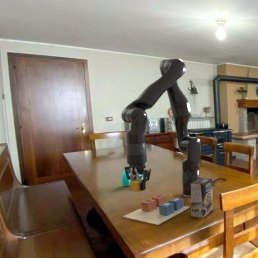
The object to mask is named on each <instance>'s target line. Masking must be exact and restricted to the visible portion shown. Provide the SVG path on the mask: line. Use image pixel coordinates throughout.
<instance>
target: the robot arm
mask: <svg viewBox="0 0 258 258" xmlns="http://www.w3.org/2000/svg"><path fill="white" fill-rule="evenodd" d="M159 71H160V75H161V76H160V77H159V78H158V79H156V80H155V81H154V82H152V83H151V84H148V86H147V87H145V88H144V90H143V91H142V92H141V93H140V94H139V96H138V97H137V98H136V99H134V100H133V101H131V102H130V103H129V104H128V105H126V107H124V108H123V110H122V111H121V114H120V116H121V120H122V121H123V122H124V123H126V124H130V129H127V130H126V132H125V140H126V145H125V146H126V147H125V150H126V164H127V166H124V168H123V169H124V171H125V173H126V176H127V179H128V180H130V181H133V180H136V179H137V178H139V181H140V192H143V191H145V190H147V189H146V186H147V182H149V181H150V178H151V173H152V169H151V168H147V165H146V163H147V161H148V159H147V158H148V157H147V145H146V136H145V135H146V130H147V124H148V114H147V111H146V110H151V109H152V108H154V106H155V105H156V104H157V102H158V101H159V100H160V99H161V97H162V96H163V95H164V94H165V93H166V94H167V97H168V102H169V107H170V111H171V115H172V119H173V124H174V128H175V134H176V142H177V143H176V144H177V148H178V149H179V151H180V152H181V153H184V154H187V157H186V158H184V159H182V160H181V183H182V184H181V185H182V196H183V197H187V198H188V197H190V198H191V183H193V182H195V181H196V180H198V179H200V178H202V176H201V175H200V173H201V172H200V162H201V157H202V142H201V140H200V139H199V137H196V136H190V134H189V129H188V125H189V122H190V120H191V119H190V118H191V115H192V112H191V106H190V103H189V100H188V98H187V96H186V95H185V94H184V92H183V91H182V89H181V88H180V85H179V83H178V80H179V79H181V78H182V77H183V76H184V75H185V73H186V71H187V67H186V64H185V61H183V60H182V59H180V58H165V59H162V60H160V63H159ZM129 174H130V176H129ZM142 174H143V175H142ZM140 175H142V176H140ZM142 177H143V180H142ZM220 180H222V181H226V179H225V178H224V177H219V178H216V179H214V180H212V187H213V186H214V183H215V182H217V181H220Z"/></svg>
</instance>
